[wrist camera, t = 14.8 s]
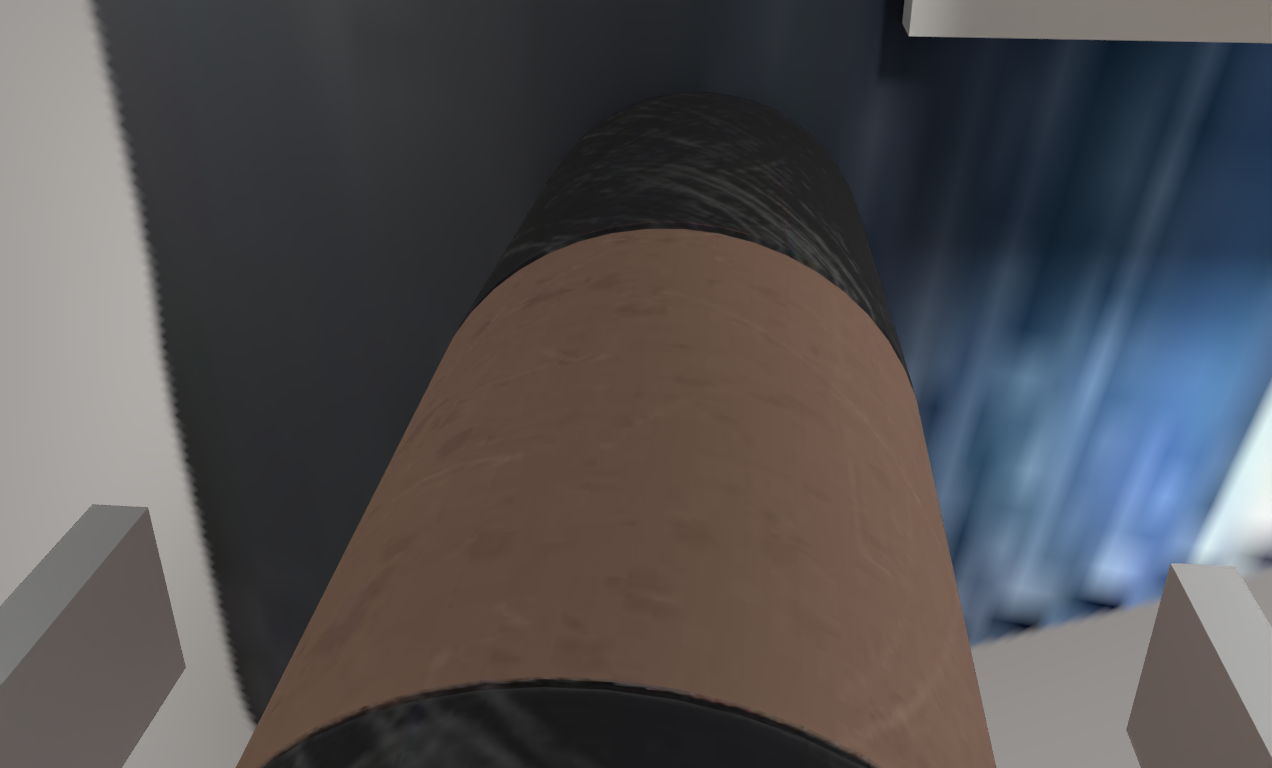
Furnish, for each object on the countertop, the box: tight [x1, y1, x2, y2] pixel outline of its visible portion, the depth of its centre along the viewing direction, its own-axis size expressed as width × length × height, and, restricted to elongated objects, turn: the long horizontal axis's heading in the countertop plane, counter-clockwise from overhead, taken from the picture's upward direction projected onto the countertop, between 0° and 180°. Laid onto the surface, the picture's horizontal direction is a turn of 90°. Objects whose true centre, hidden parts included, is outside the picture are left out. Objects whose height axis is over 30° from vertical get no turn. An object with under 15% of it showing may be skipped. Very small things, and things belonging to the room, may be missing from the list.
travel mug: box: [236, 93, 996, 768], centre depth 17 cm, size 8×8×20 cm
